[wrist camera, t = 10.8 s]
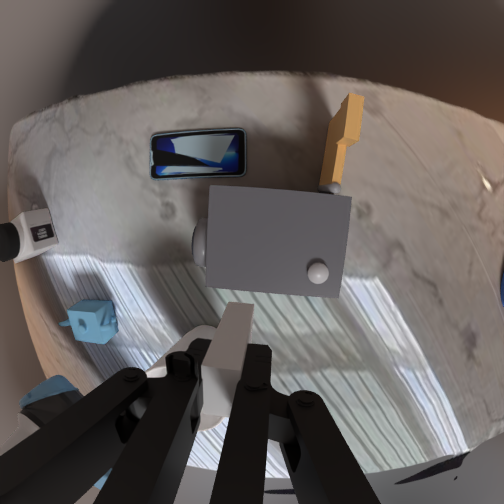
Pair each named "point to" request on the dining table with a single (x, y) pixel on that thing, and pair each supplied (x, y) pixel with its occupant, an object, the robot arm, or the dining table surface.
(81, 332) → the teapot
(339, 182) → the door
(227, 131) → the smartphone
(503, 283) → the blue flat round ring
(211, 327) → the cup
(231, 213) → the case
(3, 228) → the container
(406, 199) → the dining table surface
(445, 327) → the dining table surface
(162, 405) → the robot arm
